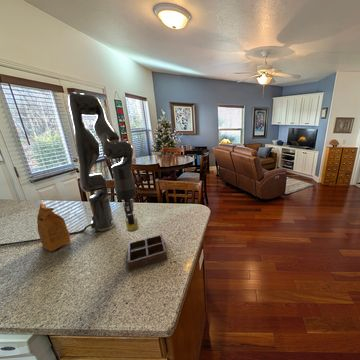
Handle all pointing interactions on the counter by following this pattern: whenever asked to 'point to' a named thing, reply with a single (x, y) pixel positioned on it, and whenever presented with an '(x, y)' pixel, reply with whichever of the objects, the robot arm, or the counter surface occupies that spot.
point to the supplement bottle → (134, 226)
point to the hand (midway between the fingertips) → (131, 221)
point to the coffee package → (51, 229)
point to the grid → (146, 252)
